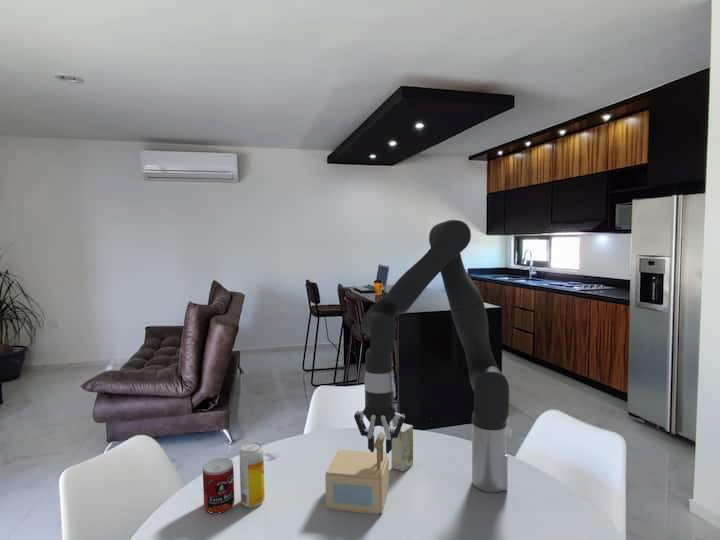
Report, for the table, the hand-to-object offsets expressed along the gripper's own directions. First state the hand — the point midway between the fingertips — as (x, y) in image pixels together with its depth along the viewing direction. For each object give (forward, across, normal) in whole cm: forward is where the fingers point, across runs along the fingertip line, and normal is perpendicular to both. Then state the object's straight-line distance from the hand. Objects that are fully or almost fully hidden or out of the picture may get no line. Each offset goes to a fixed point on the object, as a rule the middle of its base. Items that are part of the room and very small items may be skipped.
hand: (380, 451), depth 115 cm
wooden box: (+13, +6, 0) cm, 15 cm away
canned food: (+13, +41, +10) cm, 44 cm away
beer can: (+13, +33, +7) cm, 36 cm away
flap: (+4, +6, 0) cm, 7 cm away
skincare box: (+13, -4, -19) cm, 24 cm away
